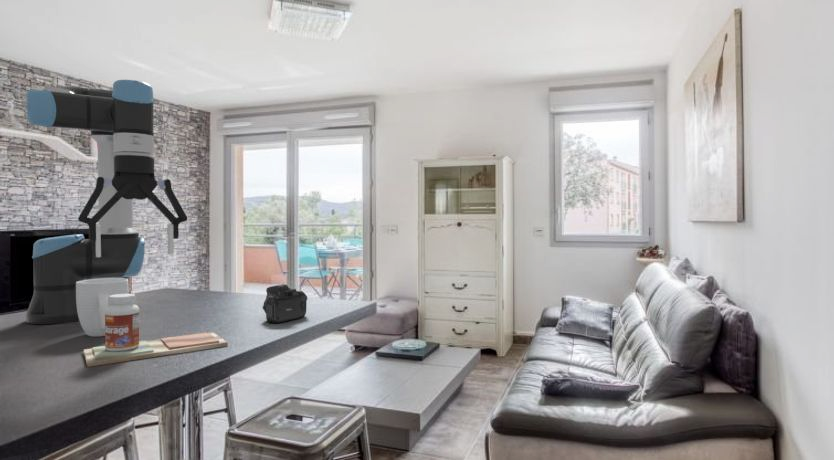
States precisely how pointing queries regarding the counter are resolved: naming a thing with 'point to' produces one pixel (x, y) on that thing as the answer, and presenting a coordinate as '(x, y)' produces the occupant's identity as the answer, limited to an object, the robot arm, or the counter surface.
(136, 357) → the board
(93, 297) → the mug
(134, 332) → the pill bottle
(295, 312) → the camera
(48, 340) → the counter surface
